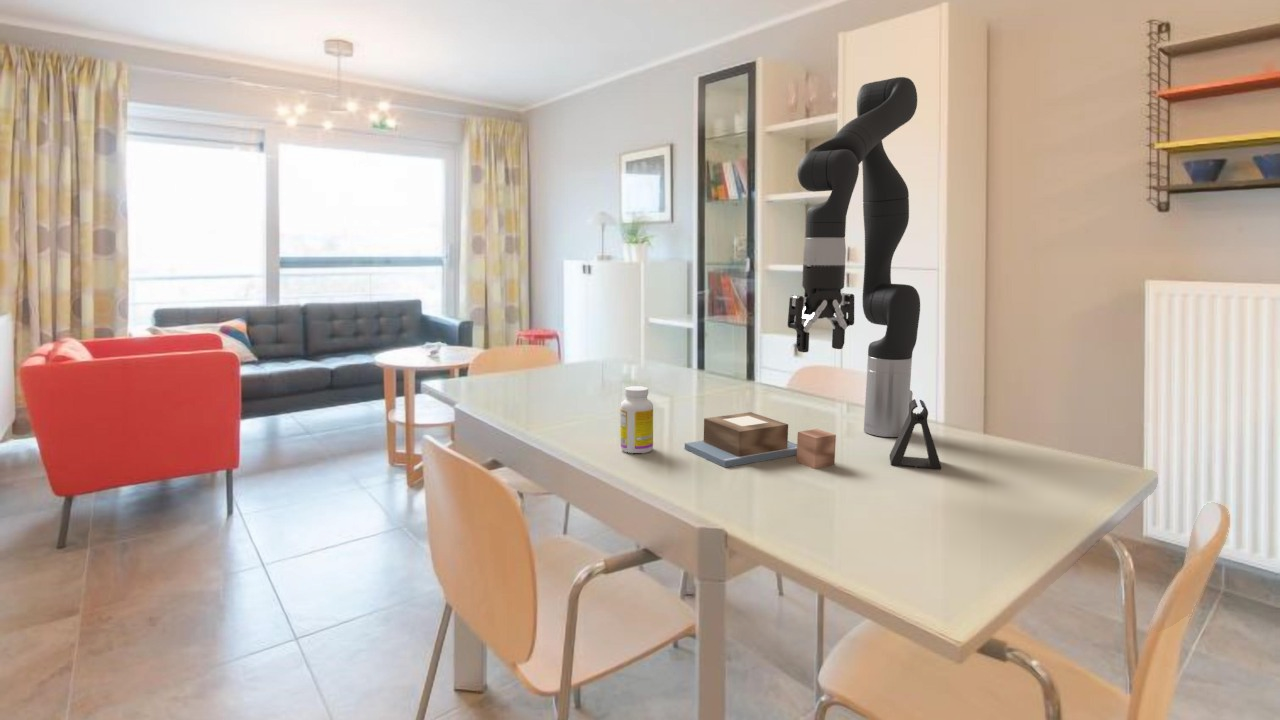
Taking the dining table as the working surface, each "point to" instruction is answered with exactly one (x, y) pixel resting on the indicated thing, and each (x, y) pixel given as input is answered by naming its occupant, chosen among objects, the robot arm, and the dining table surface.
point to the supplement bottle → (636, 421)
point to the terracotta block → (816, 448)
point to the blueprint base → (742, 440)
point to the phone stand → (904, 437)
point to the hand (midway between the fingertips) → (820, 350)
